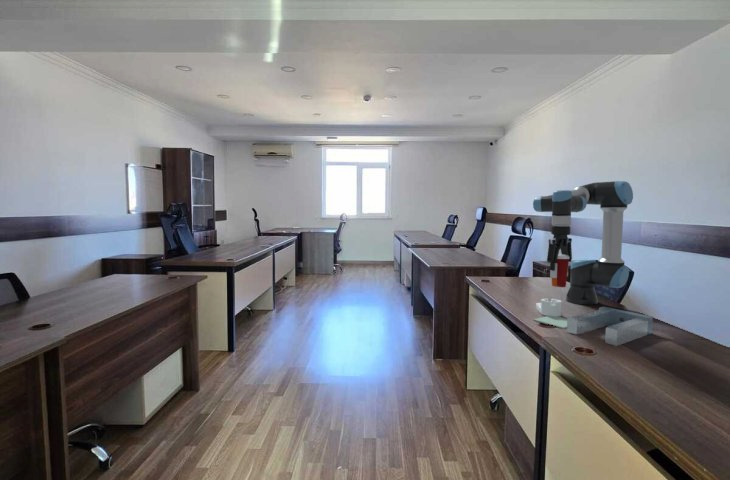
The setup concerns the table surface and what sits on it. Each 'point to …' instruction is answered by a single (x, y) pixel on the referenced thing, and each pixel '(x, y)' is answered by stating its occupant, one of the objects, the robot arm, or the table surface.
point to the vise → (612, 324)
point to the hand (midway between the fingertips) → (559, 276)
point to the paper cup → (561, 271)
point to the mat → (553, 321)
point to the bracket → (549, 307)
